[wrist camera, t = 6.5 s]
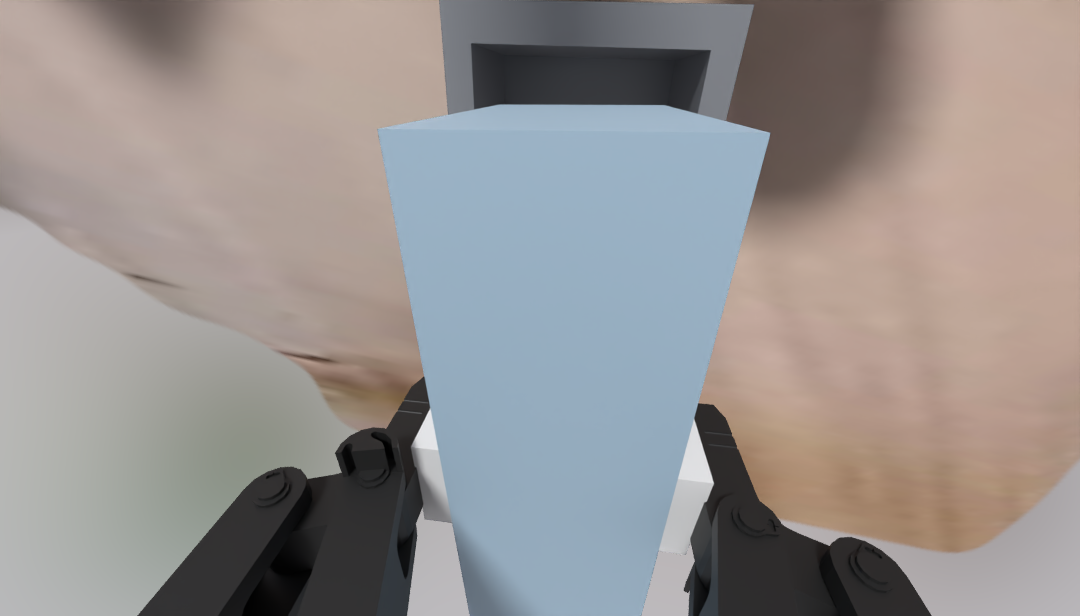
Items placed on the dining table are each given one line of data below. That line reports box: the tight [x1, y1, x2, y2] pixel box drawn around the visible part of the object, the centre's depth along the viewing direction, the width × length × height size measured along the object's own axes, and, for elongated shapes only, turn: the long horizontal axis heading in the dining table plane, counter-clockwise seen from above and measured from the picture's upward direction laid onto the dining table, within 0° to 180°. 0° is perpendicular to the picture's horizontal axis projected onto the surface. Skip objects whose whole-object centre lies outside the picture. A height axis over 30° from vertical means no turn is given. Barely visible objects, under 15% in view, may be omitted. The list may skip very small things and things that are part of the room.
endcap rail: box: [439, 0, 754, 121], centre depth 21 cm, size 10×21×7 cm, turn 178°
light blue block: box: [378, 105, 770, 616], centre depth 12 cm, size 5×16×8 cm, turn 0°
